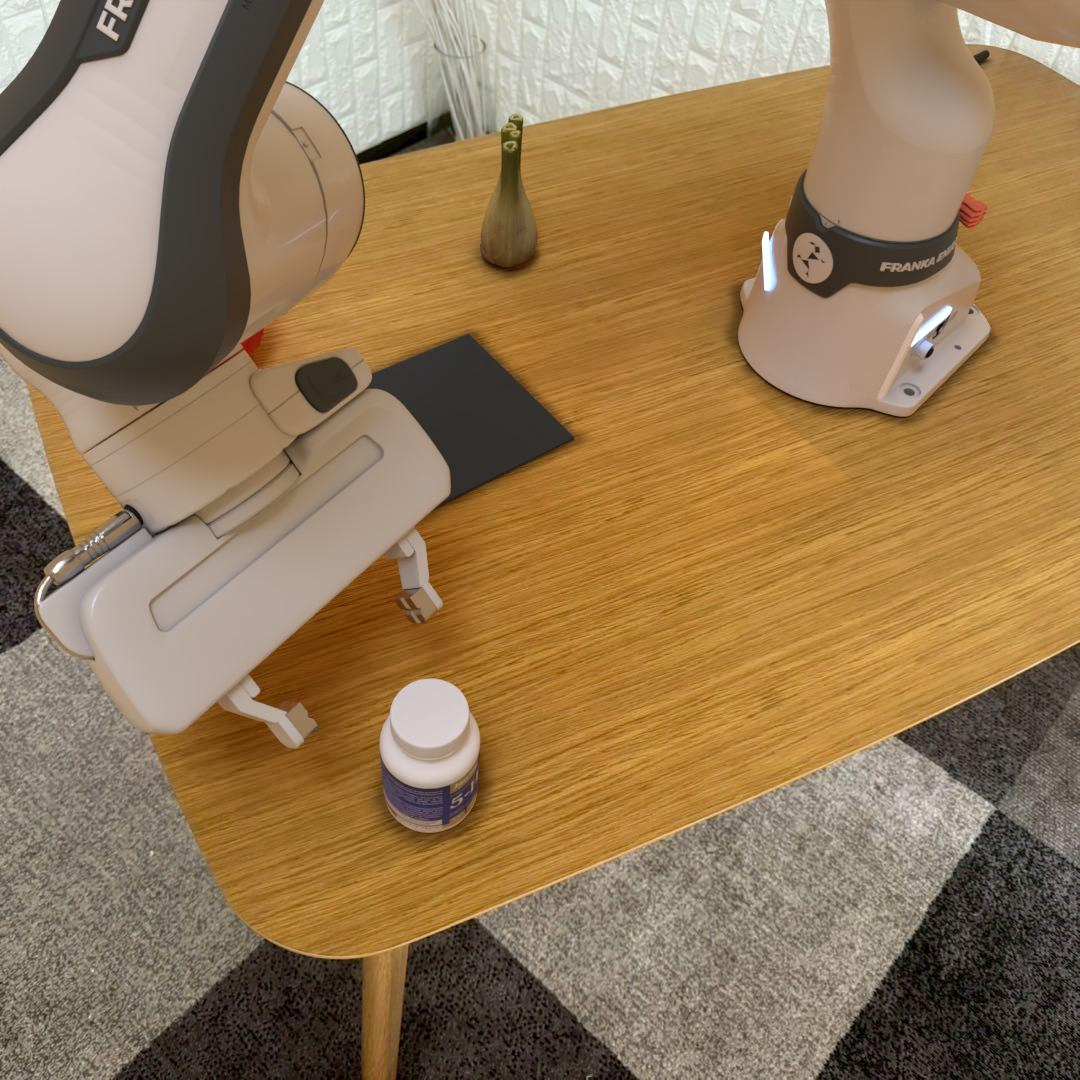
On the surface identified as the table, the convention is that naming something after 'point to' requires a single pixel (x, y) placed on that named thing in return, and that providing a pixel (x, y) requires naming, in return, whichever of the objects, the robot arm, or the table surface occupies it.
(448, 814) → the pill bottle
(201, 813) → the table surface
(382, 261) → the table surface
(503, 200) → the fennel bulb
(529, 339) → the table surface
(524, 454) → the mat
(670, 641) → the table surface
